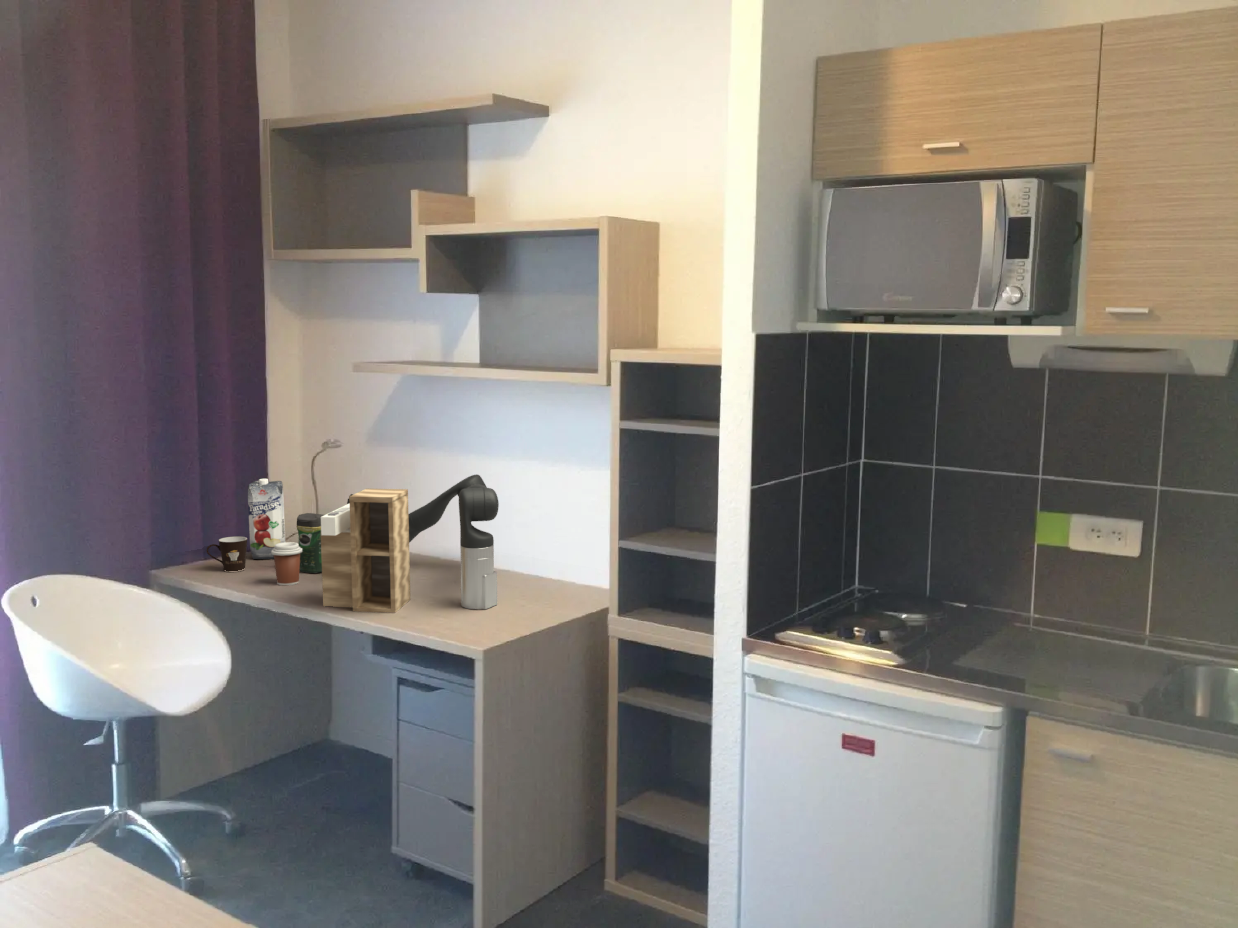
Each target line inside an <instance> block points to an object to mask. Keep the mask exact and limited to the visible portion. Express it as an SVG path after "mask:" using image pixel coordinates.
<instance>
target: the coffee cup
mask: <svg viewBox="0 0 1238 928" xmlns="http://www.w3.org/2000/svg"><path fill="white" fill-rule="evenodd" d="M300 553H302V548H300V547H299V542H293V541H292V542H291V541H285V542H284V543H278V544H275V548H274V549H273V550H272V551H271V554H273V555H274V560H273V562H274V567H275V568H274V569H275V575H276V576H275V577H276V584H277V585H278V584H279V585H278V586H281V585H289V586H295V585H297V583H298V584H299V583H300V571H299V568H300ZM294 584H295V585H294Z"/></svg>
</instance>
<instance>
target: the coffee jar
mask: <svg viewBox="0 0 1238 928" xmlns="http://www.w3.org/2000/svg"><path fill="white" fill-rule="evenodd" d="M324 515H325V514H322V513H321V514H319V513H314V512H306V513H300V514H298V516H297V518H296V530H297V534H298V536H297V537H298V544H299V547H300V548H302V553H300V568H299V572H301V573H302V572H303V573H309V574H317V573H322V556H321V517H322V516H324Z"/></svg>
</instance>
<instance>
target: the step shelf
mask: <svg viewBox="0 0 1238 928" xmlns="http://www.w3.org/2000/svg"><path fill="white" fill-rule="evenodd" d="M348 499H349V501H350V528H349V529H347V530H345V531H343V532H341V533H339V534H338V535H336V536H334V535H321V556H322V572H321V578H322V579H321V580H322V583H321V584H322V604H323V605H322V607H325V606H333V607H334V608H352V612H358V613H359V612H361V613H365V612H367V613H397V612H398V611H399V610H400V609H402V608H403V607H404V606H405V605H406V604H408V602H409V601H411V572H410V571H411V567H410V563H411V562H410V543H409V516H408V514H409V489H408V488H405V489H403V488H364V489H363V490H360V491H358V492H356V493H353V495H351V496H350V495H348ZM333 607H332V608H333Z"/></svg>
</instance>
